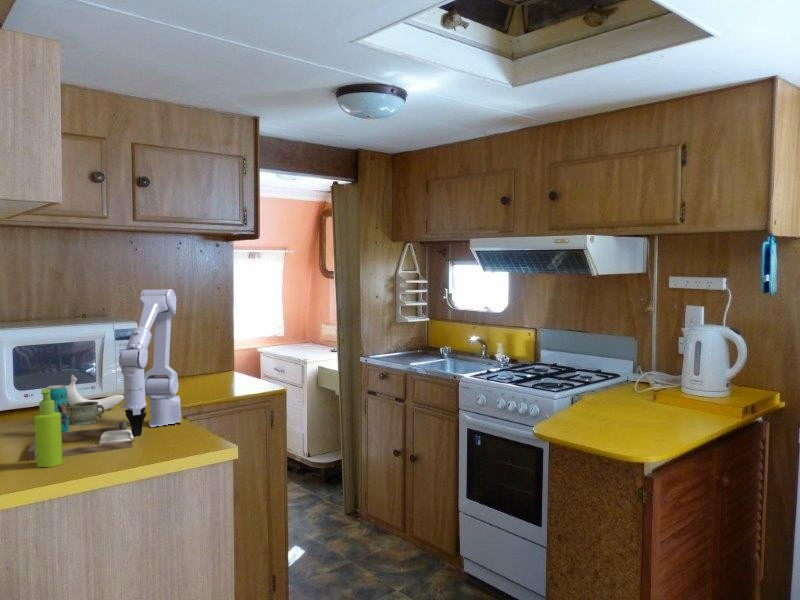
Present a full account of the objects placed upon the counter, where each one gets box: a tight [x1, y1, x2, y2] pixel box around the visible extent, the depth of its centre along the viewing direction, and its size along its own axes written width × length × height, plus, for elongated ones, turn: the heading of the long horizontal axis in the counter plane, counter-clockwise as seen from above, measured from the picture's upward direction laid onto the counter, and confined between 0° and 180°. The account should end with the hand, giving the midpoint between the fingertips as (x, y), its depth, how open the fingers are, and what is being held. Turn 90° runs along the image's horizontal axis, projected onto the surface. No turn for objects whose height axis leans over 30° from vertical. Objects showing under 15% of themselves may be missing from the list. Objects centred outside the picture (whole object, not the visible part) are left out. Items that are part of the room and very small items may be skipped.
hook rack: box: [27, 421, 133, 461], centre depth 178 cm, size 26×19×4 cm
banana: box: [66, 374, 125, 412], centre depth 222 cm, size 5×19×15 cm, turn 120°
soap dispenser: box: [34, 387, 64, 468], centre depth 160 cm, size 6×7×20 cm
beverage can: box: [46, 384, 70, 433], centre depth 191 cm, size 6×6×15 cm
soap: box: [98, 428, 135, 445], centre depth 182 cm, size 9×7×3 cm
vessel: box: [68, 401, 105, 426], centre depth 207 cm, size 12×9×6 cm
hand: (136, 434), depth 184 cm, fingers open, 4 cm apart
